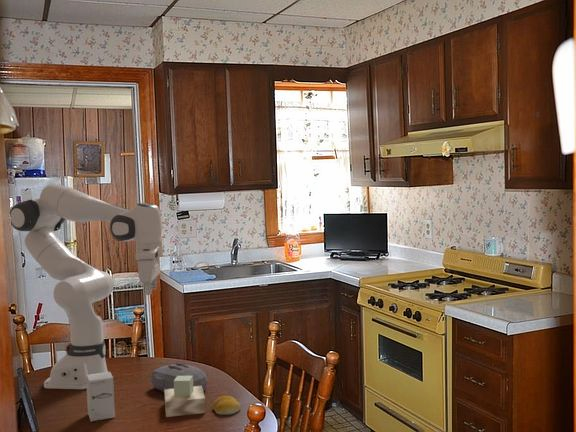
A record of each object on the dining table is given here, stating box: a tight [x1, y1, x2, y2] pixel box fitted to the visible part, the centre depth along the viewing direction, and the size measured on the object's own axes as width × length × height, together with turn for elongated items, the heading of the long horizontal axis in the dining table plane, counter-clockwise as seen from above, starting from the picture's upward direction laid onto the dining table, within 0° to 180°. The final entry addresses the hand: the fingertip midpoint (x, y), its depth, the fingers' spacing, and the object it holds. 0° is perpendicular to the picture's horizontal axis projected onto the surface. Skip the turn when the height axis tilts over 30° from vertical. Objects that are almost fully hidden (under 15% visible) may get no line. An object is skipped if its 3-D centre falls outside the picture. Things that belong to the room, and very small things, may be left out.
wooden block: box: [163, 386, 207, 418], centre depth 199 cm, size 12×12×5 cm
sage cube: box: [174, 376, 194, 397], centre depth 199 cm, size 5×5×5 cm
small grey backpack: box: [150, 362, 209, 393], centre depth 217 cm, size 15×8×20 cm
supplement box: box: [86, 371, 116, 423], centre depth 194 cm, size 7×7×13 cm
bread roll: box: [212, 395, 241, 416], centre depth 197 cm, size 8×9×4 cm
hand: (151, 292), depth 214 cm, fingers open, 8 cm apart
